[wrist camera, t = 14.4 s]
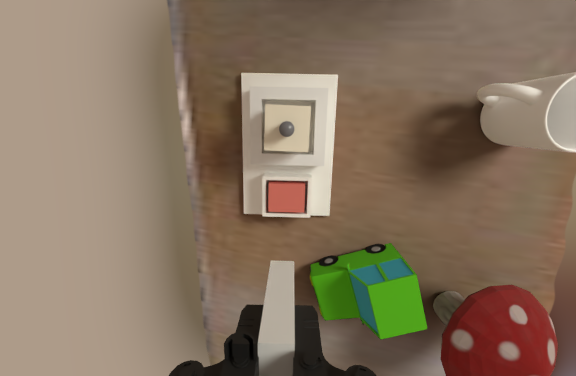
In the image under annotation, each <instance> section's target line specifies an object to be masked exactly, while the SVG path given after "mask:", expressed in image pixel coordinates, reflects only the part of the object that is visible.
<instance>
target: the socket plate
mask: <svg viewBox="0 0 576 376" xmlns="http://www.w3.org/2000/svg"><path fill="white" fill-rule="evenodd" d="M337 83H338V75H322V74H273V73H241V86H242V139H243V192H244V214H262V216H267V217H307V218H310V215H312V216H329V213H330V196H331V180H332V164H333V148H334V131H335V115H336V99H337ZM265 104H272V105H294V106H311V116H310V131H309V147H308V152H291V151H269V150H264V135H265ZM269 181H305V205H304V212H268V194H269Z"/></svg>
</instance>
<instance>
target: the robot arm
mask: <svg viewBox="0 0 576 376" xmlns="http://www.w3.org/2000/svg"><path fill="white" fill-rule="evenodd" d="M224 353H225V359H224V360H223V361H221V362H220V363H218V364H215V365H212V366H208V367H203V365H202V364H201V363H200V362H198V361H191V360H190V361H186V362H183V363H181V364H180V365H178V366H177V367H176V368H175V369H174V370H173V371H172V372H171V373H170V375H169V376H376V375H375V374H374V372H373V371H371V370H370V369H368V368H367V367H364V366H361V365H354V366H351V367H349V368H348V369H347V370H346V371H344V370H341V369H338V368H336V367H334V366H332V365H331V364H329V363H328V362H327V361H326V360H325V358H324V356H323V353H322V347H321V339H320V331H319V323H318V315H317V312H316V310H315V309H314V307H313V306H300V305H294V261H271V263H270V269H269V276H268V282H267V288H266V294H265V301H264V305H246V307H245V308H244V309H243V310H242V311H241V315H240V319H239V322H238V327H237V330H236V333H234V334H232V335H230V336H229V337H228V338H227V339H226V341H225V343H224Z"/></svg>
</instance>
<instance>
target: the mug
mask: <svg viewBox="0 0 576 376" xmlns="http://www.w3.org/2000/svg"><path fill="white" fill-rule="evenodd" d="M477 98H478V100H479V101H481V102H482V103H483V104H484V106H483V108H482V111H481V115H480V124H481V128H482V131H483V133H484V134H485V136H486V137H487V138H488V139H489V140H491V141H492V142H495V143H497V144H501V145H506V146H516V147H525V148H535V149H545V150H554V151H564V152H576V72H574V73H569V74H563V75H558V76H552V77H546V78H541V79H535V80H530V81H524V82H519V83H514V84H507V83H499V84H490V85H486V86H484V87H482V88H480V89H479V90H478V92H477Z"/></svg>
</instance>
